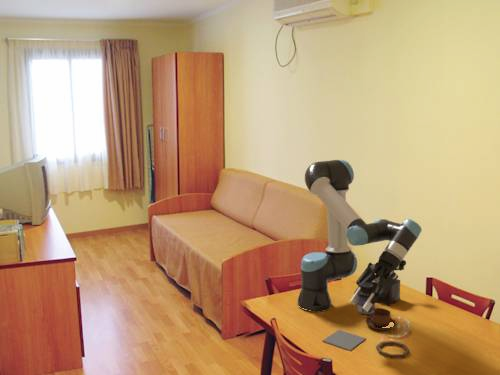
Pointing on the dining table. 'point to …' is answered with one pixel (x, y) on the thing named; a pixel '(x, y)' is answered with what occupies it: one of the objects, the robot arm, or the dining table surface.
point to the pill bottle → (365, 298)
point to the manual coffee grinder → (394, 291)
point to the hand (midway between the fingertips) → (358, 306)
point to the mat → (344, 340)
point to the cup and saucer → (380, 319)
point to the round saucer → (392, 354)
